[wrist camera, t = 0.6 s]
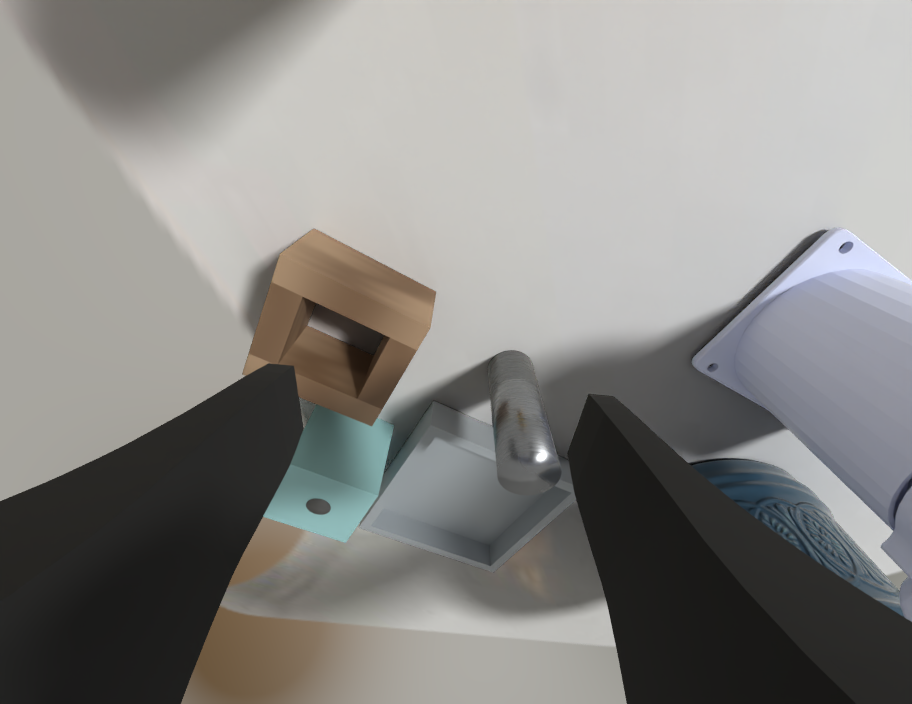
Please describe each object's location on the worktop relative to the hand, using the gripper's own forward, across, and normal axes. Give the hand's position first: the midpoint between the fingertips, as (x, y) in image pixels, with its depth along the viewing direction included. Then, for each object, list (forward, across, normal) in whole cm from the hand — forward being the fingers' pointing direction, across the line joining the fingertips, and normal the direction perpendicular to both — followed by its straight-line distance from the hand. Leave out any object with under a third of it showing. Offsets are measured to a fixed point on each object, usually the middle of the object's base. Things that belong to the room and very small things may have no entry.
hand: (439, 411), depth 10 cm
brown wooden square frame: (+10, +5, +2) cm, 11 cm away
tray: (+10, -2, +14) cm, 17 cm away
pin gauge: (+10, -4, +5) cm, 11 cm away
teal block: (+10, +6, +11) cm, 15 cm away
